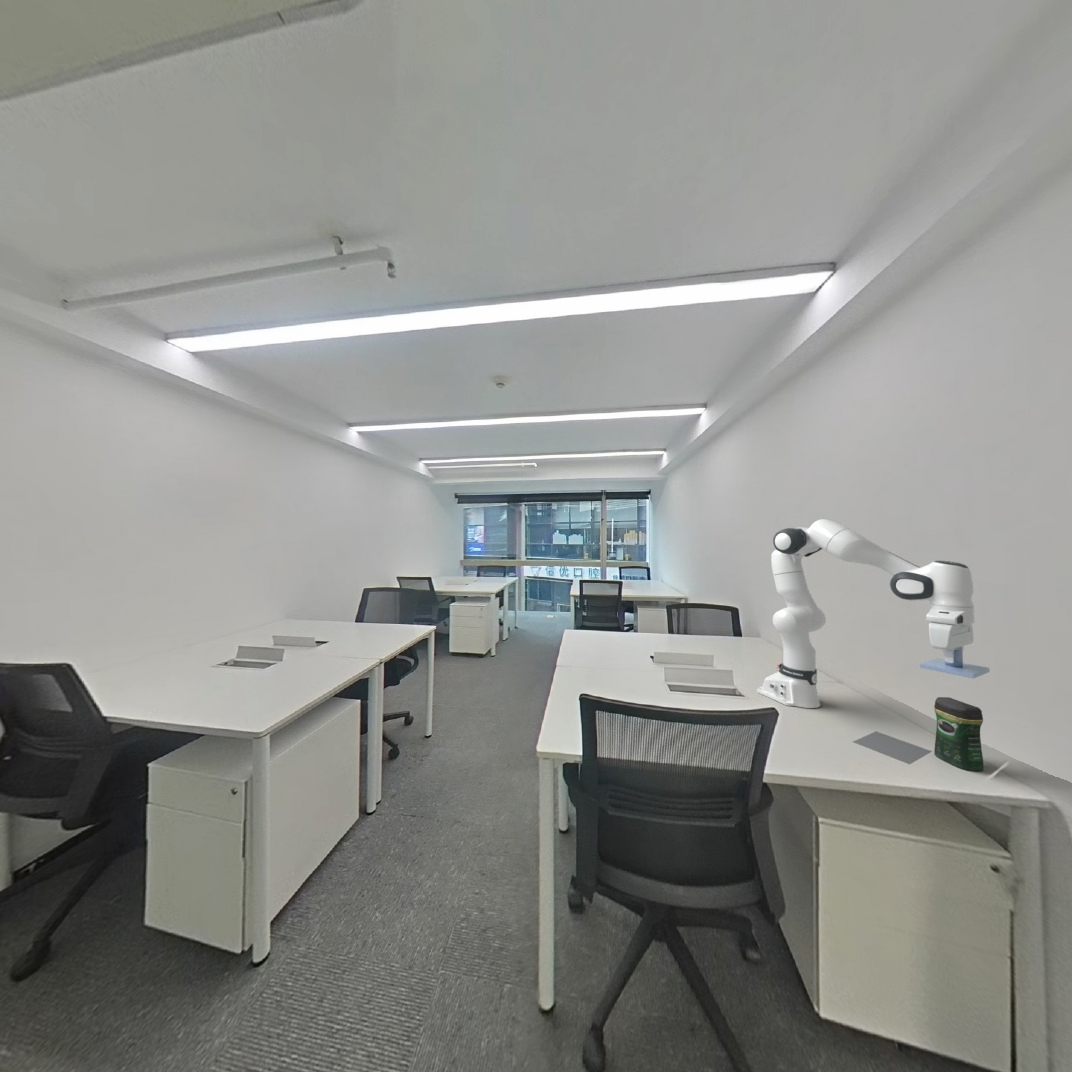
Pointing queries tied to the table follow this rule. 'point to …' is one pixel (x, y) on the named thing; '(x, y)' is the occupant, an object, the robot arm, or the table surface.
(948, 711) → the coffee jar
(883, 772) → the table surface
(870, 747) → the mat
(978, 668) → the lid
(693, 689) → the table surface
